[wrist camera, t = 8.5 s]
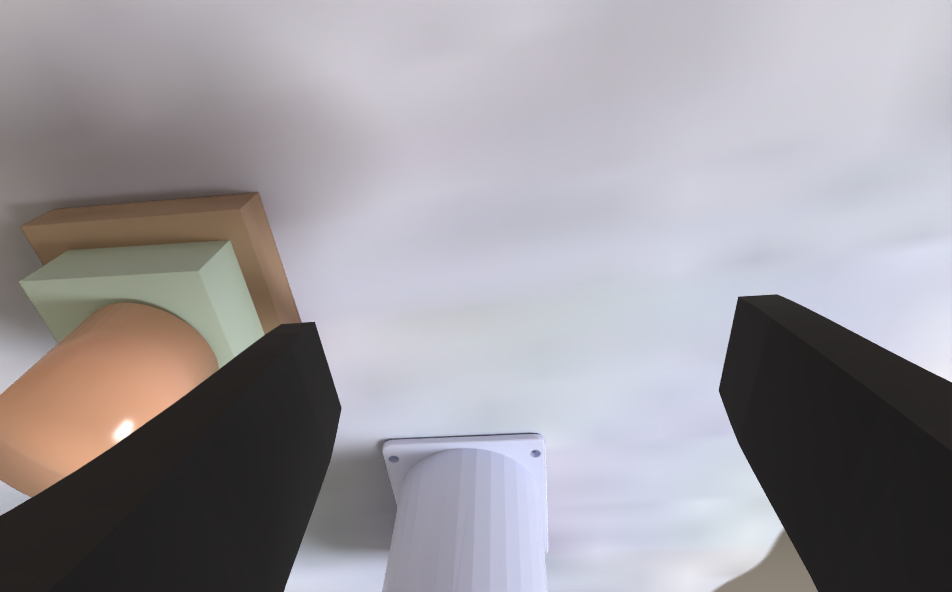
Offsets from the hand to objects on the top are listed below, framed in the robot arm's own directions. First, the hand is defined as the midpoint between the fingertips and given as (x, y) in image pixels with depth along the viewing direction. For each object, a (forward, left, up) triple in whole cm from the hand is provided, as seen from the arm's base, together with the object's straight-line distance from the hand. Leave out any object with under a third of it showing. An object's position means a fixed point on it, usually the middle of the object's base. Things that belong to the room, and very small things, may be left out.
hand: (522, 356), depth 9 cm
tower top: (-4, +13, -9) cm, 16 cm away
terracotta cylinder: (-4, +13, -6) cm, 15 cm away
